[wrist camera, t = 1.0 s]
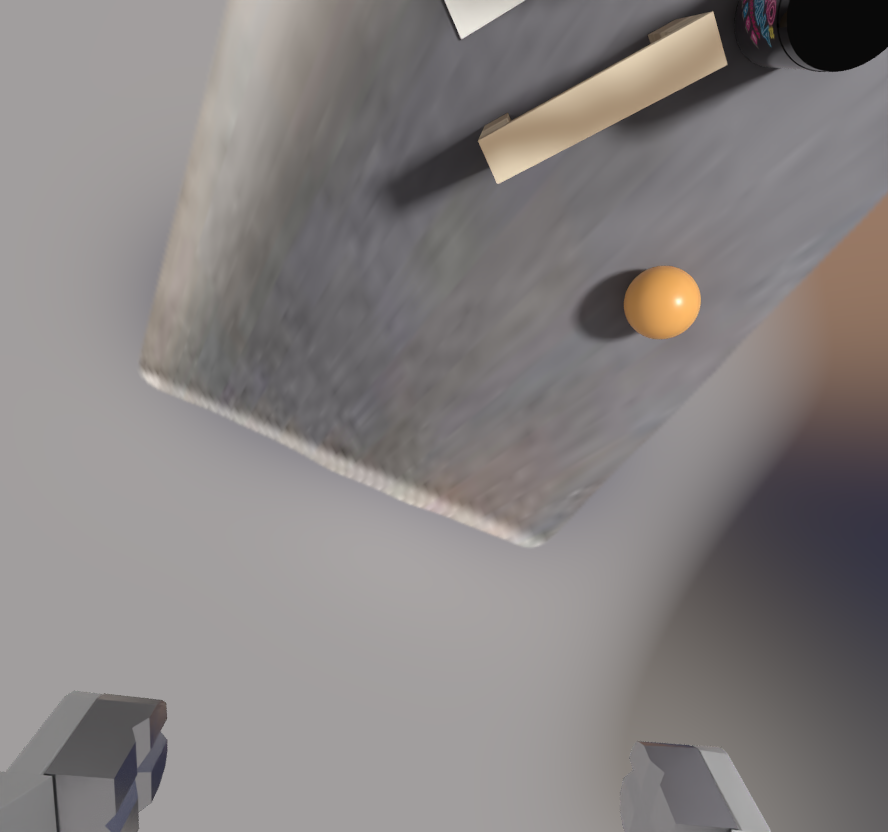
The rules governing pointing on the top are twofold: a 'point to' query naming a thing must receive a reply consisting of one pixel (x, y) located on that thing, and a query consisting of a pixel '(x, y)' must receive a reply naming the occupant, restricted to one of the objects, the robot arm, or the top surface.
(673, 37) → the bridge
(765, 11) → the supplement container
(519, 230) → the top surface
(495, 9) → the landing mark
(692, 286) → the ball
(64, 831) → the robot arm
